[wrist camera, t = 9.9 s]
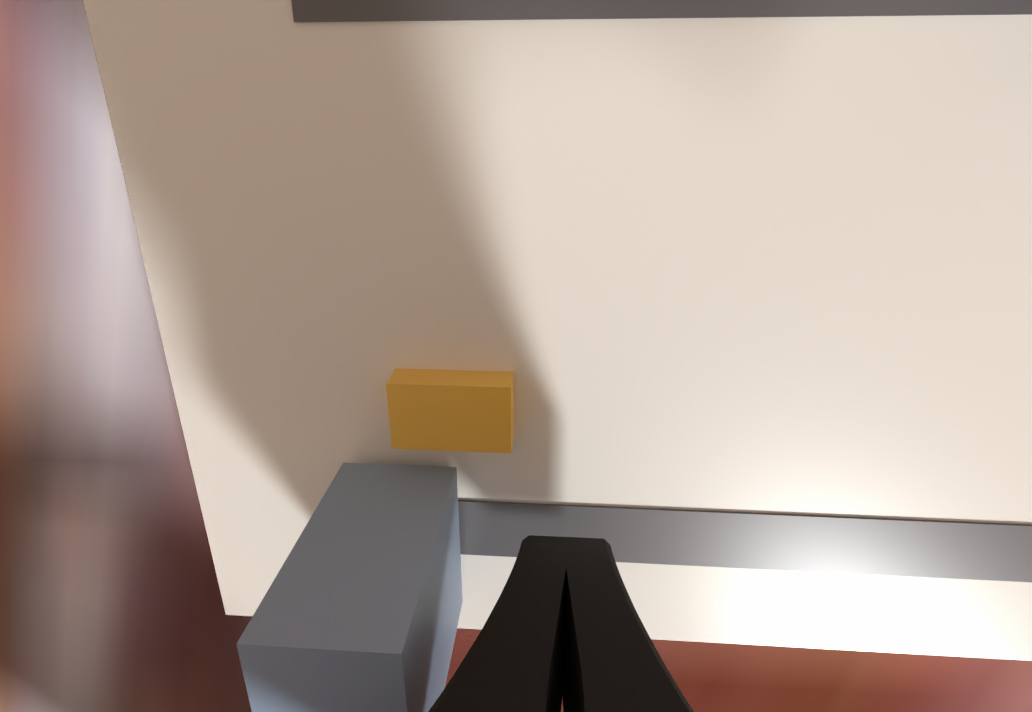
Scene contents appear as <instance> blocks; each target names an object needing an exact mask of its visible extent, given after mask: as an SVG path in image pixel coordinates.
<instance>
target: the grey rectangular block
mask: <svg viewBox="0 0 1032 712" xmlns="http://www.w3.org/2000/svg"><path fill="white" fill-rule="evenodd" d="M462 602H463V597H462V576H461V554H460V533H459V511H458V490H457V468H456V467H447V466H421V465H396V464H370V463H345V462H343V464H342V465H341V467H340V469H339V470H338V472H337V474H336V476H335V477H334V479H333V481H332V482H331V484H330V486H329V487H328V489H327V491H326V493H325V494H324V496H323V498H322V499H321V501H320V503H319V504H318V506H317V508H316V510H315V511H314V513H313V515H312V516H311V518H310V520H309V521H308V523H307V525H306V527H305V528H304V530H303V532H302V533H301V535H300V537H299V538H298V540H297V542H296V543H295V545H294V547H293V549H292V550H291V552H290V554H289V555H288V557H287V559H286V560H285V562H284V564H283V566H282V567H281V569H280V571H279V572H278V574H277V576H276V577H275V579H274V581H273V583H272V584H271V586H270V588H269V589H268V591H267V593H266V594H265V596H264V598H263V600H262V601H261V603H260V605H259V606H258V608H257V610H256V611H255V613H254V615H253V616H252V618H251V620H250V622H249V623H248V625H247V627H246V628H245V630H244V632H243V633H242V635H241V637H240V639H239V640H238V642H237V644H236V645H237V649H238V654H239V658H240V663H241V667H242V671H243V676H244V680H245V684H246V689H247V693H248V697H249V702H250V706H251V710H252V712H428V711H429V710H430V708H431V707H432V706H433V704H434V703H435V702H436V700H437V699H438V697H439V696H440V695H441V693H442V692H443V690H444V689H445V684H446V679H447V675H448V670H449V665H450V660H451V655H452V650H453V646H454V641H455V636H456V631H457V626H458V621H459V616H460V612H461V607H462Z"/></svg>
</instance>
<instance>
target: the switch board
mask: <svg viewBox="0 0 1032 712" xmlns="http://www.w3.org/2000/svg"><path fill="white" fill-rule="evenodd" d="M83 3H84V7H85V12H86V16H87V20H88V24H89V29H90V33H91V37H92V42H93V46H94V50H95V55H96V59H97V63H98V67H99V72H100V76H101V80H102V85H103V89H104V93H105V98H106V102H107V106H108V110H109V115H110V119H111V123H112V128H113V132H114V136H115V141H116V145H117V149H118V153H119V158H120V162H121V166H122V171H123V175H124V179H125V184H126V188H127V192H128V196H129V201H130V205H131V209H132V214H133V218H134V222H135V227H136V231H137V235H138V239H139V244H140V248H141V252H142V257H143V261H144V265H145V270H146V274H147V278H148V282H149V287H150V291H151V295H152V300H153V304H154V308H155V313H156V317H157V321H158V325H159V330H160V334H161V338H162V343H163V347H164V351H165V356H166V360H167V364H168V368H169V373H170V377H171V381H172V386H173V390H174V394H175V399H176V403H177V407H178V411H179V416H180V420H181V424H182V429H183V433H184V437H185V442H186V446H187V450H188V454H189V459H190V463H191V467H192V472H193V476H194V480H195V485H196V489H197V493H198V497H199V502H200V506H201V510H202V515H203V519H204V523H205V528H206V532H207V536H208V540H209V545H210V549H211V553H212V558H213V562H214V566H215V571H216V575H217V579H218V583H219V588H220V592H221V596H222V601H223V605H224V609H225V614H226V615H238V616H253V615H254V613H255V611H256V610H257V608H258V606H259V605H260V603H261V601H262V600H263V598H264V596H265V594H266V593H267V591H268V589H269V588H270V586H271V584H272V583H273V581H274V579H275V577H276V576H277V574H278V572H279V571H280V569H281V567H282V566H283V564H284V562H285V560H286V559H287V557H288V555H289V554H290V552H291V550H292V549H293V547H294V545H295V543H296V542H297V540H298V538H299V537H300V535H301V533H302V532H303V530H304V528H305V527H306V525H307V523H308V521H309V520H310V518H311V516H312V515H313V513H314V511H315V510H316V508H317V506H318V504H319V503H320V501H321V499H322V498H323V496H324V494H325V493H326V491H327V489H328V487H329V486H330V484H331V482H332V481H333V479H334V477H335V476H336V474H337V472H338V470H339V469H340V467H341V465H342V464H343V462H345V463H370V464H396V465H421V466H447V467H456V468H457V490H458V511H459V533H460V554H461V576H462V597H463V602H462V607H461V612H460V616H459V621H458V626H457V628H465V629H483V627H484V625H485V623H486V621H487V619H488V617H489V616H490V614H491V612H492V610H493V608H494V606H495V604H496V602H497V601H498V599H499V597H500V595H501V593H502V591H503V589H504V586H505V584H506V582H507V580H508V578H509V576H510V573H511V571H512V569H513V566H514V564H515V561H516V558H517V556H518V553H519V550H520V546H521V542H522V540H523V539H525V538H526V537H527V536H529V535H535V536H558V537H581V538H603V539H605V540H606V541H607V542H608V543H609V544H610V545H611V549H612V553H613V556H614V559H615V562H616V565H617V568H618V570H619V573H620V575H621V578H622V580H623V583H624V585H625V587H626V590H627V592H628V594H629V596H630V599H631V601H632V603H633V605H634V607H635V609H636V611H637V614H638V616H639V618H640V619H641V621H642V623H643V625H644V627H645V629H646V631H647V633H648V635H649V637H650V639H657V640H675V641H692V642H710V643H727V644H745V645H762V646H780V647H797V648H815V649H832V650H849V651H867V652H884V653H902V654H919V655H937V656H954V657H972V658H989V659H1007V660H1024V661H1032V0H83Z"/></svg>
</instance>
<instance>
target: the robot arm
mask: <svg viewBox="0 0 1032 712" xmlns="http://www.w3.org/2000/svg"><path fill="white" fill-rule="evenodd" d="M562 696H563V710H564V712H693V710H692V708H691V707H690V705H689V704H688V702H687V701H686V699H685V697H684V696H683V694H682V693H681V691H680V689H679V688H678V686H677V684H676V683H675V681H674V679H673V678H672V676H671V674H670V673H669V671H668V669H667V668H666V666H665V664H664V662H663V661H662V659H661V657H660V655H659V654H658V652H657V650H656V648H655V646H654V644H653V642H652V641H651V639H650V637H649V635H648V633H647V631H646V629H645V627H644V625H643V623H642V621H641V619H640V618H639V616H638V614H637V611H636V609H635V607H634V605H633V603H632V601H631V599H630V596H629V594H628V592H627V590H626V587H625V585H624V583H623V580H622V578H621V575H620V573H619V570H618V568H617V565H616V562H615V559H614V556H613V553H612V549H611V545H610V544H609V543H608V542H607V541H606V540H605V539H603V538H581V537H558V536H535V535H529V536H527V537H526V538H525V539H523V540H522V542H521V546H520V550H519V553H518V556H517V558H516V561H515V564H514V566H513V569H512V571H511V573H510V576H509V578H508V580H507V582H506V584H505V586H504V589H503V591H502V593H501V595H500V597H499V599H498V601H497V602H496V604H495V606H494V608H493V610H492V612H491V614H490V616H489V617H488V619H487V621H486V623H485V625H484V627H483V629H482V630H481V632H480V634H479V635H478V637H477V639H476V640H475V642H474V644H473V645H472V647H471V648H470V650H469V652H468V653H467V655H466V656H465V658H464V660H463V661H462V663H461V664H460V666H459V668H458V669H457V671H456V672H455V674H454V676H453V677H452V679H451V680H450V681H449V683H448V684H447V686H446V687H445V689H444V690H443V692H442V693H441V695H440V696H439V697H438V699H437V700H436V702H435V703H434V704H433V706H432V707H431V708H430V710H429V711H428V712H561V704H562Z"/></svg>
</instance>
